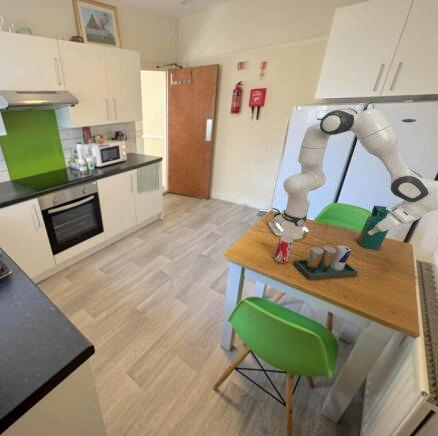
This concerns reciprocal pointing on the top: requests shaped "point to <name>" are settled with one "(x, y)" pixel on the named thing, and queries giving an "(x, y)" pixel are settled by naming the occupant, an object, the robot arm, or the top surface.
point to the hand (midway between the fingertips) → (371, 231)
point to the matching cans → (320, 259)
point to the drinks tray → (331, 273)
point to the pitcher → (376, 217)
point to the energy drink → (340, 258)
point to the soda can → (283, 249)
